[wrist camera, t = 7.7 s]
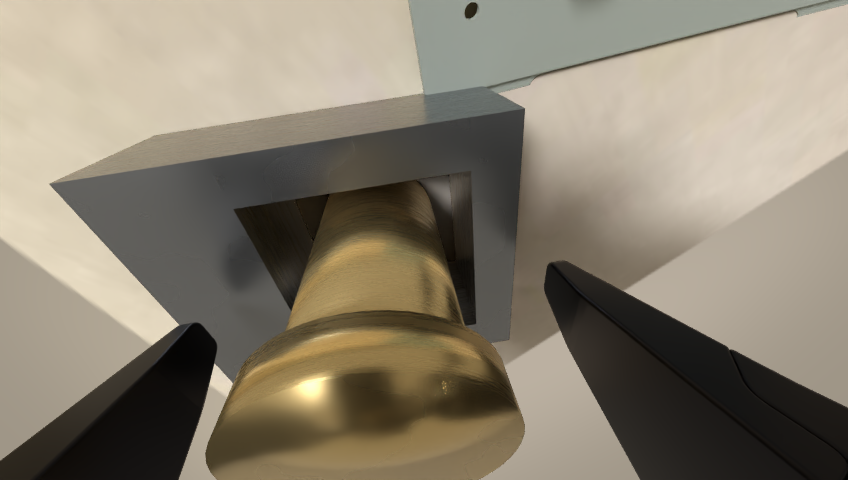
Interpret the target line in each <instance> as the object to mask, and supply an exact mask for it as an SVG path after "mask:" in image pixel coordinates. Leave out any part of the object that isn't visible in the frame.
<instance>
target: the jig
mask: <svg viewBox="0 0 848 480" xmlns="http://www.w3.org/2000/svg"><path fill="white" fill-rule="evenodd" d="M524 115H525V108H523V107H521V106H519V105H518V104H516V103H514V102H512V101H510V100H508V99H507V98H505V97H503V96H501V95H499V94H497V93H495V92H494V91H492V90H490V89H488V88H486V87H484V86H479V87H473V88H467V89H461V90H455V91H448V92H442V93H436V94H430V95H426V94H418V95H412V96H405V97H399V98H393V99H386V100H380V101H373V102H367V103H361V104H354V105H348V106H341V107H335V108H329V109H322V110H316V111H309V112H303V113H297V114H290V115H284V116H277V117H271V118H265V119H258V120H252V121H245V122H239V123H233V124H226V125H220V126H213V127H207V128H201V129H194V130H188V131H181V132H175V133H169V134H162V135H156V136H153V137H151V138H149V139H146V140H144V141H142V142H140V143H138V144H135V145H133V146H131V147H129V148H127V149H124V150H122V151H120V152H118V153H116V154H114V155H111V156H109V157H107V158H105V159H103V160H100V161H98V162H96V163H94V164H92V165H89V166H87V167H85V168H83V169H81V170H78V171H76V172H74V173H72V174H70V175H67V176H65V177H63V178H61V179H59V180H57V181H54V182H52V183H50V185H51V187H52V188H53V189H54V190H55V191H56V192H57V193H58V194H59V195H60V196H61V197H62V198H63V199H64V201H65V202H66V203H67V204H68V205H69V206H70V207H71V208H72V209H73V210H74V211H75V212H76V214H77V215H78V216H79V217H80V218H81V219H82V220H83V221H84V222H85V223H86V224H87V225H88V227H89V228H90V229H91V230H92V231H93V232H94V233H95V234H96V235H97V236H98V237H99V238H100V240H101V241H102V242H103V243H104V244H105V245H106V246H107V247H108V248H109V249H110V250H111V251H112V252H113V254H114V255H115V256H116V257H117V258H118V259H119V260H120V261H121V262H122V263H123V264H124V265H125V267H126V268H127V269H128V270H129V271H130V272H131V273H132V274H133V275H134V276H135V277H136V278H137V280H138V281H139V282H140V283H141V284H142V285H143V286H144V287H145V288H146V289H147V290H148V291H149V293H150V294H151V295H152V296H153V297H154V298H155V299H156V300H157V301H158V302H159V303H160V304H161V305H162V307H163V308H164V309H165V310H166V311H167V312H168V313H169V314H170V315H171V316H172V317H173V318H174V320H175V321H176V322H177V323H178V324H179V325H182V324H188V323H194V322H198V323H200V324H202V325H203V326H204V328H205V329H206V330H207V331H208V332H209V333H210V335H211V336H212V337H213V338H214V339H215V341H216V343H217V354H216V358H215V362H214V363H215V364H216V365H217V366H218V367H219V368H220V369H221V370H222V371H223V373H224V374H225V375H226V376H227V377H228V378H229V379H230V380H231V381H232V382H233V383H234V381H235V378H236V376H237V374H238V372H239V370H240V368H241V367H242V365H243V363H244V362H245V361H246V360H247V359H248V357H249V356H250V355H251V354H252V353H253V352H254V351H255V350H257V349H258V348H259V347H260V346H262V345H263V344H264V343H265V342H267V341H268V340H270V339H272V338H273V337H275V336H277V335H279V334H280V333H282V332H284V331H285V329H286V326H287V323H288V320H289V317H290V314H291V311H292V308H293V305H294V302H295V299H296V296H297V293H298V290H299V286H300V283H301V280H302V277H303V274H304V271H305V268H306V265H307V262H308V259H309V256H310V253H311V250H312V247H313V242H312V240H311V237H310V235H309V233H308V230H307V228H306V225H305V223H304V221H303V218H302V216H301V214H300V211H299V209H298V206H297V204H296V202H295V199H299V198H305V197H311V196H318V195H324V194H330V193H336V192H342V191H348V190H354V189H361V188H367V187H373V186H379V185H385V184H391V183H398V182H404V181H410V180H416V179H422V178H428V177H435V176H441V175H447V174H449V178H450V191H451V203H452V216H453V229H454V241H455V254H456V261H450V262H447V263H448V267H449V271H450V274H451V278H452V281H453V285H454V288H455V292H456V296H457V299H458V303H459V306H460V310H461V314H462V317H463V321H464V324H465V326H466V327H468V328H470V329H472V330H473V331H475V332H477V333H479V334H480V335H481V336H482V337H484V338H485V339H486V340H488V341H489V342H490V343H492V342H498V341H504V340H509V334H510V319H511V305H512V290H513V275H514V261H515V246H516V232H517V217H518V203H519V188H520V173H521V159H522V144H523V130H524Z"/></svg>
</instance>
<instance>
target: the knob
mask: <svg viewBox="0 0 848 480" xmlns="http://www.w3.org/2000/svg"><path fill="white" fill-rule="evenodd" d="M524 430H525V424H524V421H523V417H522V414H521V411H520V409H519V406H518V403H517V400H516V398H515V395H514V392H513V390H512V387H511V384H510V381H509V378H508V375H507V373H506V370H505V367H504V364H503V362H502V359H501V357H500V355H499V354H498V352H497V350H496V349H495V348H494V347H493V346H492V345H491V343H490V342H489V341H488V340H486V339H485V338H484V337H482V336H481V335H480V334H479V333H477V332H475V331H473V330H472V329H470V328H468V327H466V326H465V324H464V321H463V317H462V314H461V310H460V306H459V303H458V299H457V296H456V292H455V288H454V285H453V281H452V278H451V274H450V271H449V267H448V263H447V260H446V256H445V253H444V249H443V245H442V242H441V238H440V235H439V231H438V227H437V224H436V220H435V217H434V213H433V210H432V206H431V202H430V200H429V197H428V195H427V193H426V191H425V190H424V188H423V187H422V186H421V185H420V184H419V183H418V181H416V180H410V181H404V182H398V183H391V184H385V185H379V186H373V187H367V188H361V189H354V190H348V191H342V192H336V193H330V195H329V198H328V201H327V204H326V207H325V210H324V213H323V216H322V219H321V222H320V225H319V228H318V231H317V234H316V237H315V240H314V244H313V247H312V250H311V253H310V256H309V259H308V262H307V265H306V268H305V271H304V274H303V277H302V280H301V283H300V286H299V290H298V293H297V296H296V299H295V302H294V305H293V308H292V311H291V314H290V317H289V320H288V323H287V326H286V329H285V331H284V332H282V333H280V334H279V335H277V336H275V337H273V338H272V339H270V340H268V341H267V342H265V343H264V344H263V345H262V346H260V347H259V348H258V349H257V350H255V351H254V352H253V353H252V354H251V355H250V356H249V357H248V359H247V360H246V361H245V362H244V363H243V365H242V367H241V368H240V370H239V372H238V374H237V376H236V378H235V381H234V383H233V385H232V388H231V390H230V392H229V395H228V397H227V399H226V402H225V404H224V407H223V409H222V411H221V414H220V416H219V418H218V421H217V423H216V426H215V428H214V430H213V433H212V435H211V437H210V440H209V442H208V445H207V449H206V453H205V454H206V464H207V466H208V468H209V470H210V472H211V473H212V475H213V476H214V477H215V478H216V479H217V480H479V479H481V478H483V477H484V476H486V475H488V474H489V473H491V472H493V471H494V470H496V469H497V468H498V467H500V466H501V465H502V464H504V463H505V462H506V461H507V460H508V459H509V458H510V457H511V456H512V455H513V454H514V452H516V450H517V449H518V447H519V446H520V444H521V442H522V439H523V436H524V432H525V431H524Z"/></svg>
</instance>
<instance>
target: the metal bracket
mask: <svg viewBox="0 0 848 480" xmlns="http://www.w3.org/2000/svg"><path fill="white" fill-rule="evenodd" d="M408 2H409V8H410V14H411V20H412V26H413V32H414V38H415V44H416V50H417V56H418V62H419V67H420V73H421V79H422V85H423V91H424V94H426V95H430V94H436V93H442V92H448V91H455V90H461V89H467V88H473V87H479V86H484V87H486V88H488V89H490V90H492V91H494V92H495V93H500V92H504V91H508V90H512V89H516V88H520V87H524V86H528V85H530V83H531V81H532V80H533V79H534V78H535V77H536V76H538V75H540V74H542V73H546V72H550V71H554V70H558V69H562V68H566V67H570V66H574V65H578V64H582V63H586V62H590V61H594V60H598V59H602V58H606V57H610V56H613V55H617V54H621V53H625V52H629V51H633V50H637V49H641V48H645V47H649V46H653V45H657V44H661V43H665V42H669V41H673V40H677V39H681V38H685V37H689V36H693V35H697V34H701V33H705V32H708V31H712V30H716V29H720V28H724V27H728V26H732V25H736V24H740V23H744V22H748V21H752V20H756V19H760V18H764V17H768V16H772V15H776V14H780V13H784V12H788V11H792V10H796V12H797V14H798V15H797V17H799V16H803V15H807V14H811V13H815V12H819V11H823V10H827V9H831V8H835V7H839V6H843V5H846V4H848V0H408ZM471 2H476V4H477V13H476V14H475V16H474V17H472V18H470V19H469V18H466V17H465V14H464V13H465V8H466V6H467V5H468V4H469V3H471Z"/></svg>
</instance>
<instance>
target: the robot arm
mask: <svg viewBox="0 0 848 480" xmlns="http://www.w3.org/2000/svg"><path fill="white" fill-rule="evenodd" d="M544 290H545V294H546V297H547V299H548V301H549V304H550V306H551V309H552V311H553V313H554V316H555V318H556V321H557V323H558V326H559V328H560V330H561V333H562V335H563V338H564V340H565V342H566V344H567V347H568V349H569V351H570V352H571V354H572V356H573V358H574V360H575V362H576V364H577V365H578V367H579V369H580V371H581V373H582V374H583V376H584V378H585V380H586V382H587V383H588V385H589V387H590V389H591V391H592V393H593V394H594V396H595V398H596V400H597V402H598V404H599V405H600V407H601V409H602V411H603V413H604V414H605V416H606V418H607V420H608V422H609V423H610V425H611V427H612V429H613V431H614V433H615V435H616V436H617V438H618V440H619V442H620V444H621V445H622V447H623V449H624V451H625V452H626V455H627V456H628V458H629V460H630V462H631V464H632V466H633V467H634V469H635V471H636V473H637V475H638V477H639V478H640V480H848V408H847V407H845V406H843V405H841V404H839V403H837V402H835V401H833V400H831V399H829V398H827V397H825V396H823V395H821V394H819V393H816V392H814V391H812V390H810V389H808V388H806V387H804V386H802V385H800V384H798V383H796V382H794V381H792V380H790V379H788V378H786V377H784V376H782V375H780V374H779V373H777V372H775V371H773V370H771V369H769V368H767V367H765V366H763V365H761V364H759V363H757V362H755V361H753V360H751V359H750V358H748V357H746V356H744V355H742V354H740V353H738V352H737V351H734V350H729V349H728V347H727V346H725V345H723V344H721V343H719V342H717V341H715V340H714V339H712V338H710V337H708V336H706V335H704V334H702V333H700V332H699V331H697V330H695V329H693V328H691V327H689V326H687V325H686V324H684V323H682V322H680V321H678V320H676V319H674V318H672V317H671V316H669V315H667V314H665V313H663V312H661V311H659V310H657V309H656V308H654V307H652V306H650V305H648V304H646V303H644V302H642V301H640V300H639V299H637V298H635V297H633V296H631V295H629V294H627V293H625V292H624V291H622V290H620V289H618V288H616V287H614V286H612V285H610V284H609V283H607V282H605V281H603V280H601V279H599V278H597V277H595V276H594V275H592V274H590V273H588V272H586V271H584V270H582V269H580V268H579V267H577V266H575V265H573V264H571V263H569V262H567V261H556V262H551V263H549V264H548V266H547V270H546V276H545V283H544ZM216 354H217V343H216V341H215V339H214V338H213V337H212V336H211V335H210V333H209V332H208V331H207V330H206V329H205V328H204V326H203V325H202V324H200V323H198V322H194V323H188V324H182V325H179V326H177V327H176V328H175V329H173V330H172V331H171V332H169V333H168V334H167V335H165V336H164V337H163V338H161V339H160V340H159V341H158V342H156V343H155V344H154V345H152V346H151V347H150V348H148V349H147V350H146V351H144V352H143V353H142V354H141V355H139V356H138V357H136V358H135V359H134V360H132V361H131V362H130V363H129V364H127V365H126V366H125V367H123V368H122V369H121V370H119V371H118V372H117V373H115V374H114V375H113V376H112V377H110V378H109V379H107V380H106V381H105V382H103V383H102V384H101V385H100V386H98V387H97V388H96V389H94V390H93V391H92V392H90V393H89V394H88V395H86V396H85V397H84V398H82V399H81V400H80V401H79V402H77V403H76V404H75V405H73V406H72V407H71V408H69V409H68V410H67V411H65V412H64V413H63V414H61V415H60V416H59V417H57V418H56V419H55V420H53V421H52V422H51V423H49V424H48V425H47V426H45V428H43V429H42V430H40V431H39V432H38V433H36V434H35V435H34V436H33V437H31V438H30V439H28V440H27V441H26V442H25V443H23V444H22V445H21V446H19V447H18V448H16V449H15V450H14V451H13V452H11V453H10V454H9V455H7V456H6V457H5V458H3V459H2V460H1V461H0V480H179V477H180V474H181V471H182V468H183V466H184V463H185V460H186V457H187V454H188V451H189V448H190V446H191V443H192V440H193V437H194V434H195V431H196V428H197V426H198V423H199V420H200V417H201V414H202V410H203V407H204V403H205V399H206V395H207V391H208V387H209V383H210V379H211V375H212V370H213V366H214V362H215V358H216Z"/></svg>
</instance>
